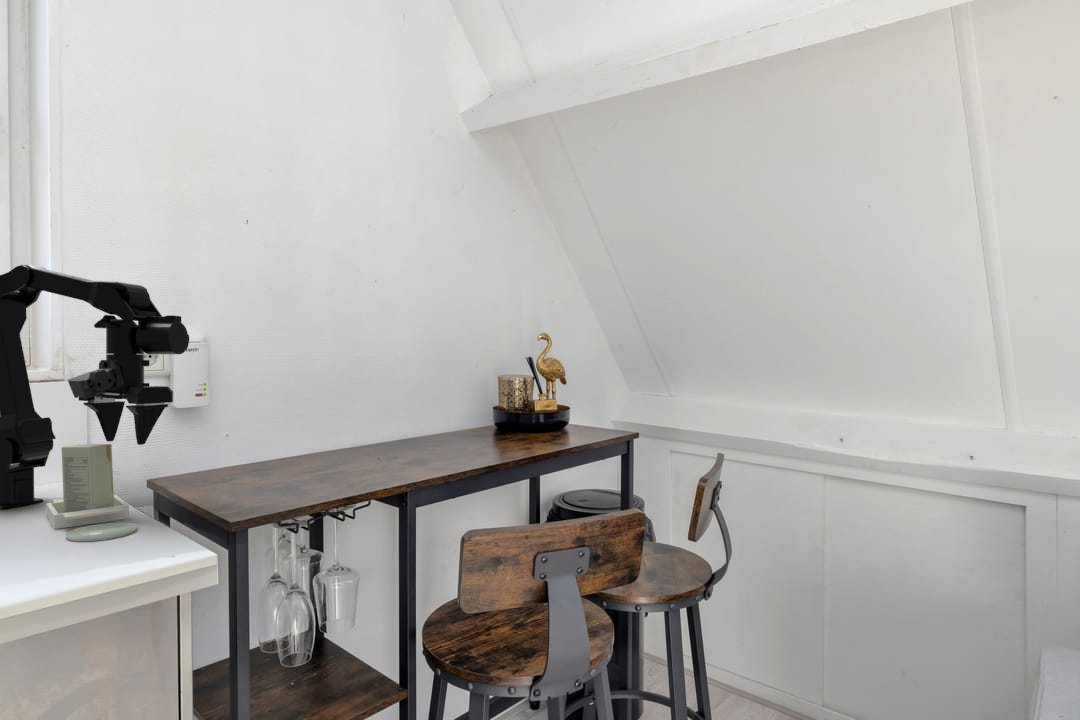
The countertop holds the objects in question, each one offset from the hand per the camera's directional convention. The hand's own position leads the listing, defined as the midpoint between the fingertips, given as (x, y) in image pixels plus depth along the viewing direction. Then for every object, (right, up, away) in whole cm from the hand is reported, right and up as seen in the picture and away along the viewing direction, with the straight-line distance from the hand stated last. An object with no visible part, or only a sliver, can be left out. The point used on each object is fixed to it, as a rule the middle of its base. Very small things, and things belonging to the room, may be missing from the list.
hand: (125, 442), depth 120 cm
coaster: (+7, -12, -17) cm, 21 cm away
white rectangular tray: (-3, -12, -6) cm, 13 cm away
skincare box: (-3, -12, -6) cm, 14 cm away
